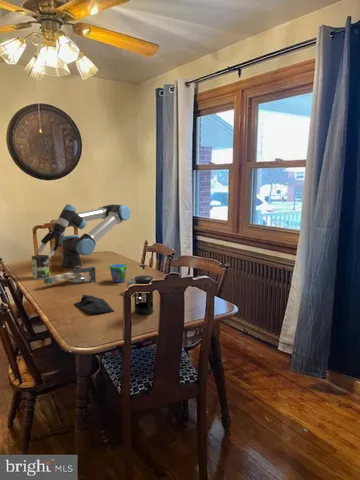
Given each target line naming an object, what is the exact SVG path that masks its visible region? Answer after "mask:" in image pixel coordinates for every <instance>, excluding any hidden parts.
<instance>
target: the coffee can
mask: <svg viewBox="0 0 360 480" xmlns="http://www.w3.org/2000/svg"><path fill="white" fill-rule="evenodd" d="M49 258H50V256H49V255H48V254H38V255H36V254H35V255H31V265H32V267H31V269H32V279H33V280H44V278H45V277H50V265H49V264H50V262H49V261H50V260H49Z"/></svg>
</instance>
